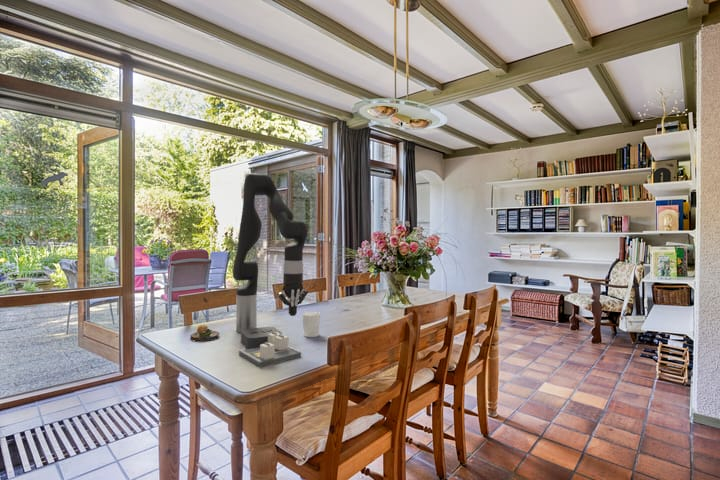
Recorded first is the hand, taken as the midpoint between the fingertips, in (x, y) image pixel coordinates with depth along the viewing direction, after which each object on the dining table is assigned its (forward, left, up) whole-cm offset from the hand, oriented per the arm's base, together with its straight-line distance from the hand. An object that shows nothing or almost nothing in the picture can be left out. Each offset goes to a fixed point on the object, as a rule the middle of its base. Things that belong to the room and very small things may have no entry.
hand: (292, 315), depth 148 cm
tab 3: (-1, -4, -13) cm, 13 cm away
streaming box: (-17, -4, -15) cm, 23 cm away
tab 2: (-7, -4, -13) cm, 15 cm away
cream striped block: (+4, -13, -13) cm, 19 cm away
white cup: (-14, +19, -15) cm, 28 cm away
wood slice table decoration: (-41, -19, -15) cm, 48 cm away
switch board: (-1, -9, -14) cm, 17 cm away
